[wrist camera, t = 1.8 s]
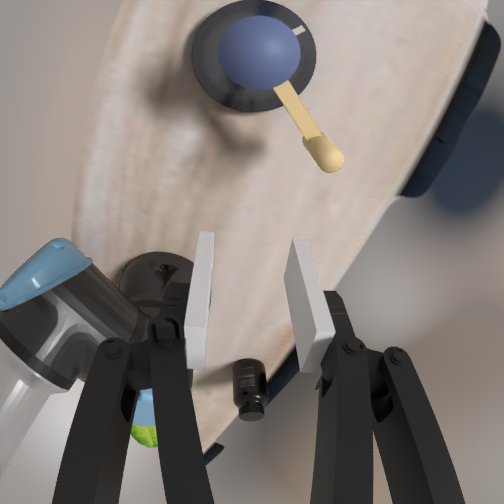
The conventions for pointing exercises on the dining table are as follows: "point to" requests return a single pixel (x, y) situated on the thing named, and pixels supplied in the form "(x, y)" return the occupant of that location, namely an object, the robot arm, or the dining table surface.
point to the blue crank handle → (274, 76)
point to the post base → (215, 76)
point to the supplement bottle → (250, 389)
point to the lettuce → (145, 435)
